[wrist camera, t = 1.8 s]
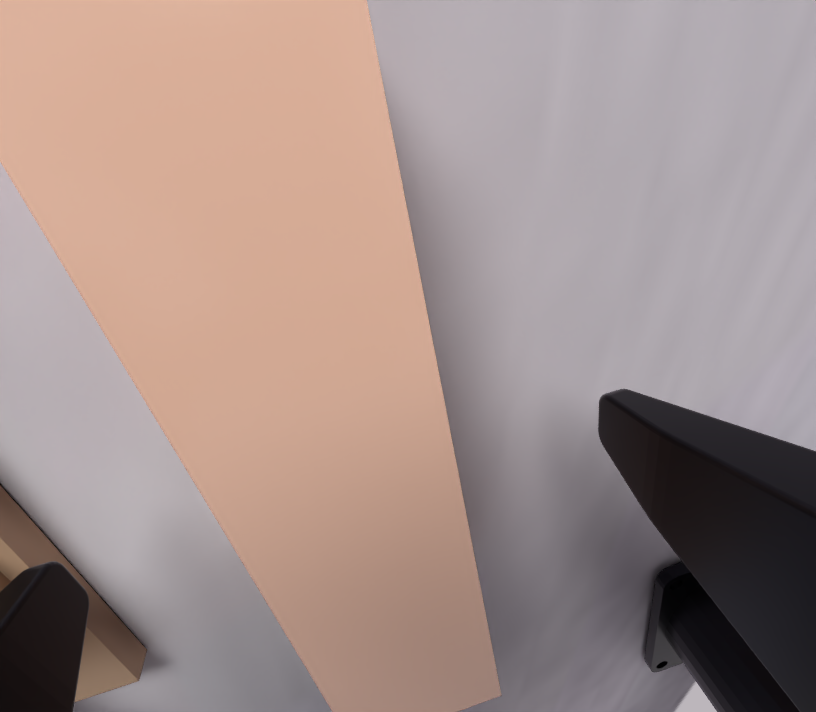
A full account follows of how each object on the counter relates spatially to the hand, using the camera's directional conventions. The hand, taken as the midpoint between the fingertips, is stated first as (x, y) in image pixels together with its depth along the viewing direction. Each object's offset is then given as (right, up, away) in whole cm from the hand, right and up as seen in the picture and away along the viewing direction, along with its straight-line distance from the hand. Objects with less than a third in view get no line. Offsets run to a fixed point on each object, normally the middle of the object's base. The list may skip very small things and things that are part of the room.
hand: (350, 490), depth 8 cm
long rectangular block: (-1, +2, +3) cm, 3 cm away
